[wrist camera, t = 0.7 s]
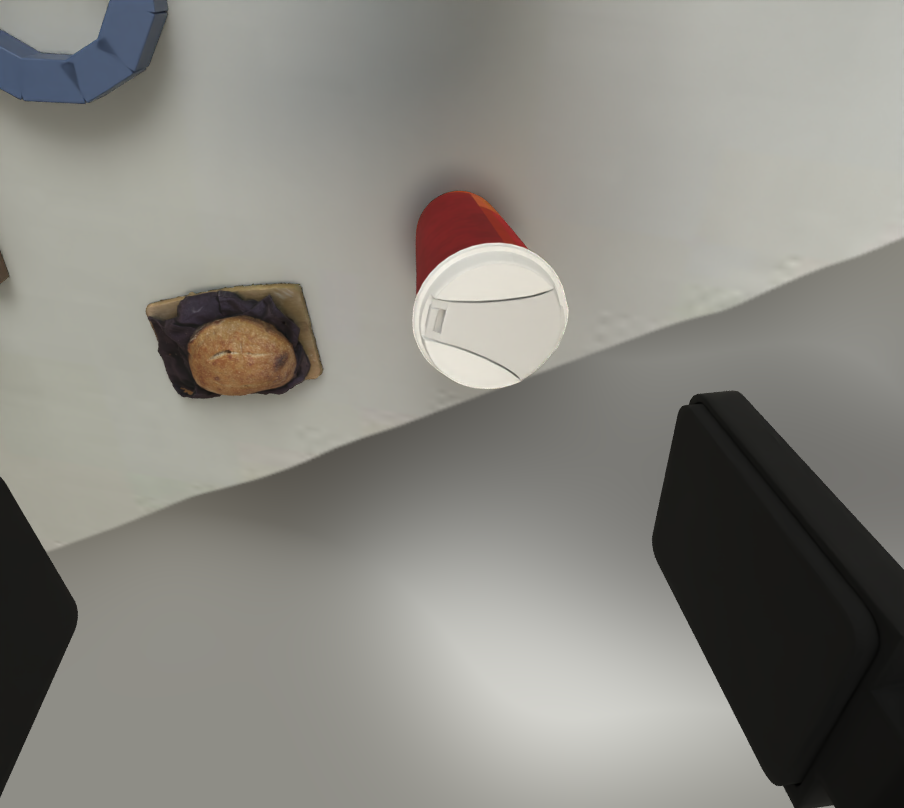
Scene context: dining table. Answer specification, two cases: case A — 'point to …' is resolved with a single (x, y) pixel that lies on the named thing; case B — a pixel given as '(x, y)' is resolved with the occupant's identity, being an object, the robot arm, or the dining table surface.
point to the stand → (3, 270)
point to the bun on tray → (236, 340)
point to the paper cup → (482, 295)
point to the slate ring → (86, 57)
